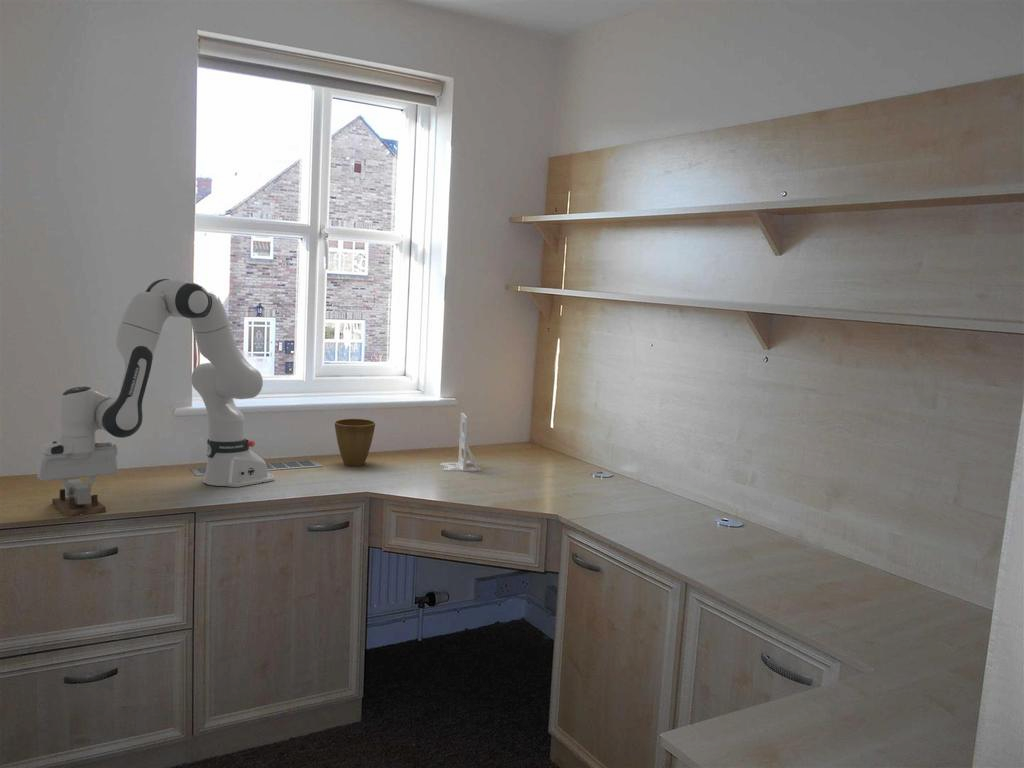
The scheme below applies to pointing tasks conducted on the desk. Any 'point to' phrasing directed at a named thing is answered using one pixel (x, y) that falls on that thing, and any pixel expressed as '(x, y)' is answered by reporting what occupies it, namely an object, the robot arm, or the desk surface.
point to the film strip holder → (464, 445)
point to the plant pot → (354, 439)
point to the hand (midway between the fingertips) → (78, 492)
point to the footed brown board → (72, 508)
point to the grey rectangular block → (79, 491)
